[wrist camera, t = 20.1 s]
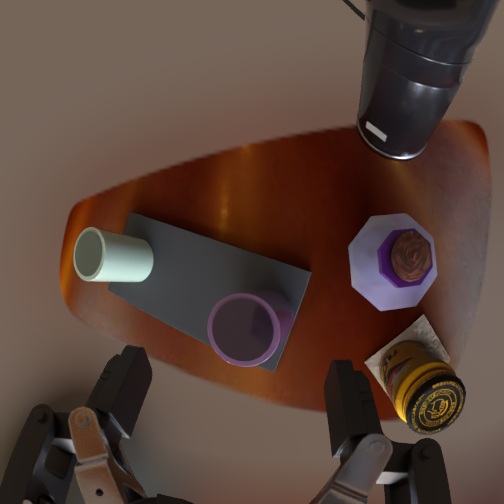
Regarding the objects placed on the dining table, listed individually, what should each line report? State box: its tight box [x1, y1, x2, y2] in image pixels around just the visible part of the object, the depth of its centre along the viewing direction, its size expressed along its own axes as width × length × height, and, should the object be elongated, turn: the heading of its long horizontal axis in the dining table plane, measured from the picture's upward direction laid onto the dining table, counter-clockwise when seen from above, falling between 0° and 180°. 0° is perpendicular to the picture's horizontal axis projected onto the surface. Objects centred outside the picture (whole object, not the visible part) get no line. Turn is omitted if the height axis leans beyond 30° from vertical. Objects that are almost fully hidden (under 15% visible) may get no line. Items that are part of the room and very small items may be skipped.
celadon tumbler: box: [73, 227, 154, 282], centre depth 30 cm, size 6×6×9 cm
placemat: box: [108, 212, 311, 372], centre depth 32 cm, size 12×26×1 cm, turn 71°
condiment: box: [365, 314, 466, 435], centre depth 19 cm, size 7×8×12 cm
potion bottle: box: [348, 213, 437, 311], centre depth 21 cm, size 9×9×12 cm
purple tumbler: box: [207, 289, 294, 367], centre depth 25 cm, size 6×6×9 cm
